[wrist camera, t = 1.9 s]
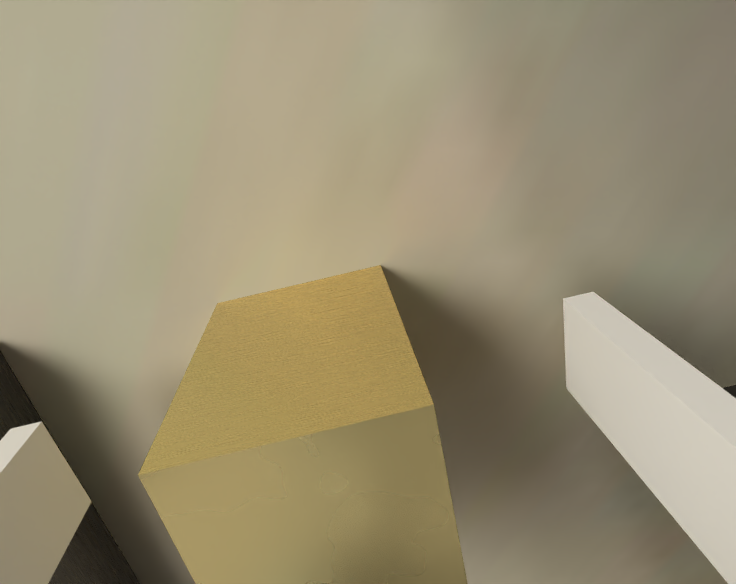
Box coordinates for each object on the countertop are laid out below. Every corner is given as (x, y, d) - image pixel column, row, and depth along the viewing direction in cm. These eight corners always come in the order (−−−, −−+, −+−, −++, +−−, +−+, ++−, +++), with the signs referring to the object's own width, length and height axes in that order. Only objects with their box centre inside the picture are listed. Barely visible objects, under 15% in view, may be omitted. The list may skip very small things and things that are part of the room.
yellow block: (408, 399, 16) (469, 598, 10) (266, 433, 16) (234, 655, 10) (380, 265, 14) (433, 404, 8) (217, 303, 14) (137, 474, 8)
